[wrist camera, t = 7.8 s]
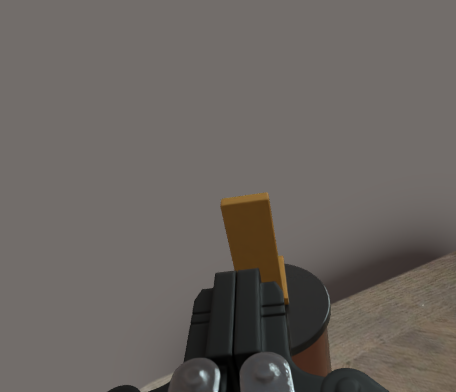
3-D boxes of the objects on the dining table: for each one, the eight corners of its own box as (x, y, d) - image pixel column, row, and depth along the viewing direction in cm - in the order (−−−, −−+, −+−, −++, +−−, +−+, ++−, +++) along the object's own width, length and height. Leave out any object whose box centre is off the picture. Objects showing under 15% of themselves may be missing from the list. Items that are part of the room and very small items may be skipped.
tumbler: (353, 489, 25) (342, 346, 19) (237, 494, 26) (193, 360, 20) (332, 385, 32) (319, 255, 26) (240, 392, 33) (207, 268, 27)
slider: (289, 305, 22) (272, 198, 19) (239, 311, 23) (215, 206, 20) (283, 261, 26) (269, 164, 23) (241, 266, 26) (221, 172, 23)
